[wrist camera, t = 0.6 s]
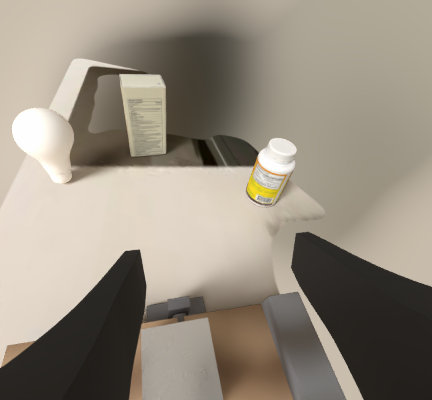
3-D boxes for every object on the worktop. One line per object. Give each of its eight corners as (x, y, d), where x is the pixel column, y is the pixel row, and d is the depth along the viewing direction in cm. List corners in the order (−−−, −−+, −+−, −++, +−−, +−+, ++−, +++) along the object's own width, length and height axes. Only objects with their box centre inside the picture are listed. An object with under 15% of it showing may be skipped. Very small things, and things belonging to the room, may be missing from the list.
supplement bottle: (263, 181, 43) (285, 132, 35) (283, 203, 40) (311, 154, 32) (238, 188, 40) (255, 137, 33) (256, 212, 37) (281, 162, 30)
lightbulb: (48, 166, 36) (17, 95, 28) (91, 169, 37) (73, 101, 29) (31, 195, 32) (-11, 121, 24) (80, 197, 33) (55, 128, 25)
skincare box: (162, 141, 46) (162, 74, 37) (166, 155, 43) (168, 86, 34) (126, 142, 43) (118, 72, 35) (129, 157, 41) (120, 85, 32)
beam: (336, 406, 21) (359, 404, 19) (-44, 548, 13) (-80, 574, 10) (290, 298, 27) (304, 287, 25) (13, 344, 19) (-2, 334, 16)
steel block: (213, 419, 18) (227, 418, 15) (143, 442, 16) (143, 446, 13) (199, 331, 21) (207, 317, 19) (141, 342, 20) (140, 329, 17)
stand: (235, 482, 18) (250, 495, 15) (154, 515, 16) (153, 536, 14) (201, 298, 27) (206, 284, 24) (146, 307, 25) (145, 293, 22)
